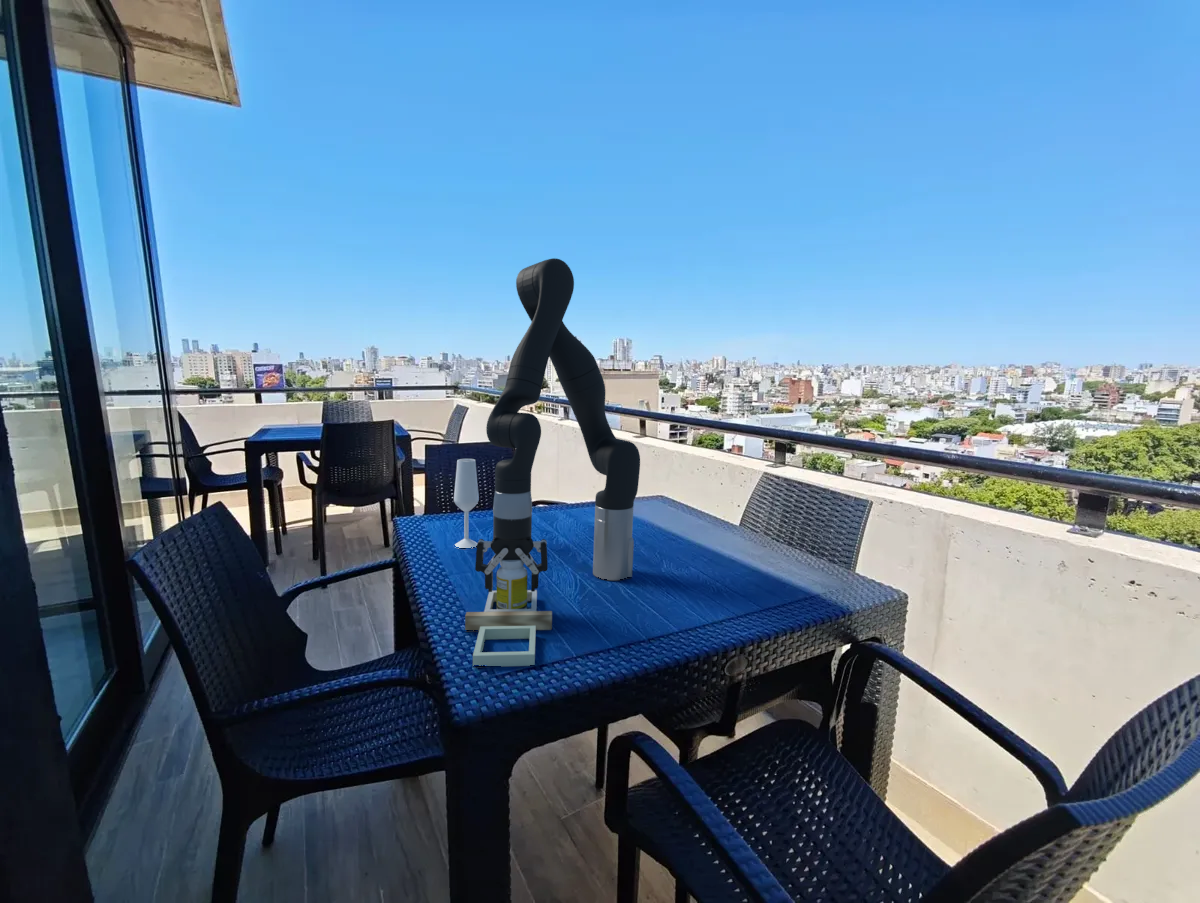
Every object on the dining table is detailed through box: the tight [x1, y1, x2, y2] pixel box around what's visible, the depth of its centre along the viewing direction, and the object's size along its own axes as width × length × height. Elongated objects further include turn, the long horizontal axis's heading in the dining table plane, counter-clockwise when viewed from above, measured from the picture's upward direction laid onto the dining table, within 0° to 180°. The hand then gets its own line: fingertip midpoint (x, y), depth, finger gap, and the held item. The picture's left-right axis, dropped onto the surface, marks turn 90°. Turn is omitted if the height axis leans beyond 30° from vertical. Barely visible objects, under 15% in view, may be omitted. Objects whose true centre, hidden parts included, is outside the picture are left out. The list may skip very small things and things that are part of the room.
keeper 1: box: [483, 589, 538, 612], centre depth 106 cm, size 10×10×2 cm
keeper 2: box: [472, 626, 537, 667], centre depth 90 cm, size 10×10×2 cm
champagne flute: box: [453, 458, 480, 549], centre depth 143 cm, size 7×7×24 cm
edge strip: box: [464, 610, 553, 632], centre depth 98 cm, size 16×2×3 cm, turn 96°
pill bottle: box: [496, 560, 528, 609], centre depth 105 cm, size 6×6×11 cm
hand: (511, 590), depth 105 cm, fingers open, 8 cm apart
